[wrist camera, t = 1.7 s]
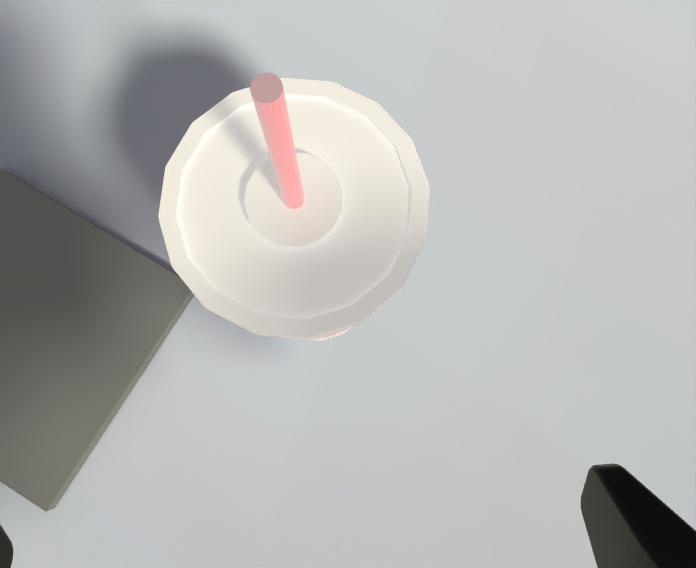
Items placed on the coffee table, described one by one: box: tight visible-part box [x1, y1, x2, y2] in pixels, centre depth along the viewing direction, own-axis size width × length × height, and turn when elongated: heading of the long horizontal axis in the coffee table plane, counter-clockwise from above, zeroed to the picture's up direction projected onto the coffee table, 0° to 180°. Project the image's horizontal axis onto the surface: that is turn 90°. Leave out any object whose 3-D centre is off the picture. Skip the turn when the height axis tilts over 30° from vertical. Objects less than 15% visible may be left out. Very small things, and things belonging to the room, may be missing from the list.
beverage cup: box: [158, 73, 430, 341], centre depth 15 cm, size 6×6×14 cm
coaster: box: [0, 169, 194, 511], centre depth 21 cm, size 9×9×1 cm
